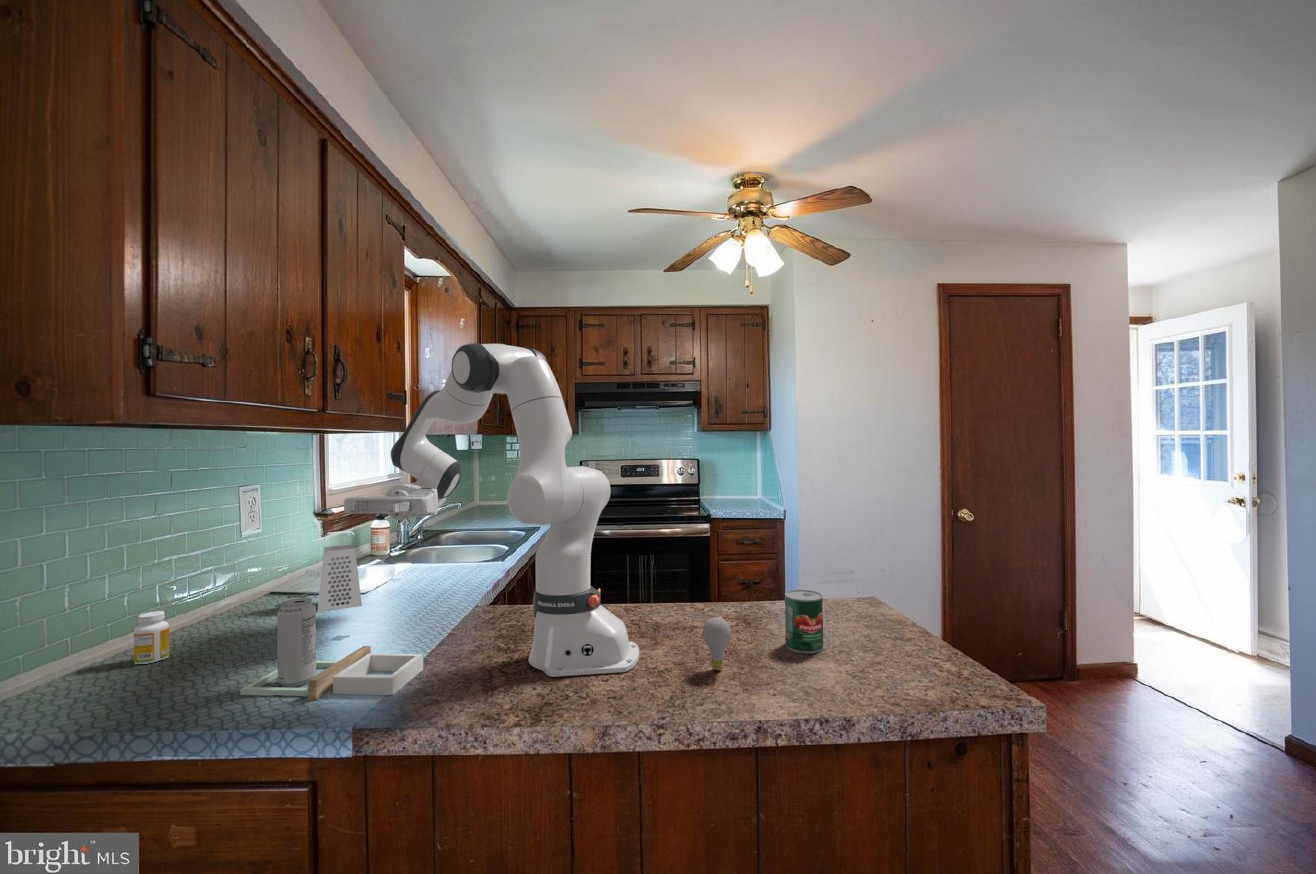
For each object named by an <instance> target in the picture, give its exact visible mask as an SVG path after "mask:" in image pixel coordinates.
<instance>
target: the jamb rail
mask: <svg viewBox="0 0 1316 874" xmlns="http://www.w3.org/2000/svg"><path fill="white" fill-rule="evenodd" d="M371 648H372V647H371V645H362V646H361V647H359V648H358V649H356V650H354V651H353V652H352V653H350V654H348V655H347V656H345V657H343V658H342V659H340V660H337V661H338V662H337V663H335V664H333V665H332V666H330V667H329V668H324V670H322V671H321V672H318V673H316V674H315V675H314V676H313V677H312V678H311V679H309V680H308V683H307V686H308V687H307V688H308V696H307V698H308V701H318V700H319V699H321V698H322V697H324V696H326V695H327V694H328V693H330V692H332V691H333V677H334V676H335V675H337V674H338V673H340V672H341V671H343V670H344V669H346V668H347V667H349V666H351V665H352V664H354V663H355V662H357V661H358V660H360V659H361V658H363V657H364V656H366V655H367V654H369V653H372V652H371V651H372V649H371Z"/></svg>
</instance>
